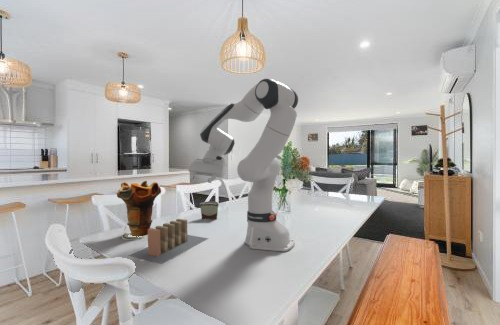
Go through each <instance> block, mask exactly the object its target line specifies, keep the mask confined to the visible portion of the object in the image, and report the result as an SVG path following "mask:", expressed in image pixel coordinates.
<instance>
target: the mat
mask: <svg viewBox="0 0 500 325" xmlns="http://www.w3.org/2000/svg"><path fill="white" fill-rule="evenodd" d="M187 235H188V242H186V243H185V242H182V245H180V246H178V245H175V248H174V249H170V248H168V252H166V253H165V252H161V255H160V256H153V255H149V254H148V246H146V247H145V248H142V249H139V250H137V251H135V252H133V253H130V254H128V257H132V258H136V259H140V260H144V261H148V262H152V263H156V264H160V265H163V264H165V263H167V262H168V261H170V260H172V259H174V258H176V257H178V256H180V255H181V254H183V253H185V252H188V251H189V250H190V249H193V248H194V247H195V246H197V245H198V246H199V245H200V244H202V243H203V242H205V241H207V240H209V238H210V237H209V238H208V237H203V236H197V235H192V234H187Z"/></svg>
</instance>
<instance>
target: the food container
mask: <svg viewBox="0 0 500 325" xmlns="http://www.w3.org/2000/svg"><path fill="white" fill-rule="evenodd" d="M219 207H220V205H219V202H218V201H203V202H200V203H199V208H200V216H201V219H202V220H218V213H219V211H218V210H219Z"/></svg>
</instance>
